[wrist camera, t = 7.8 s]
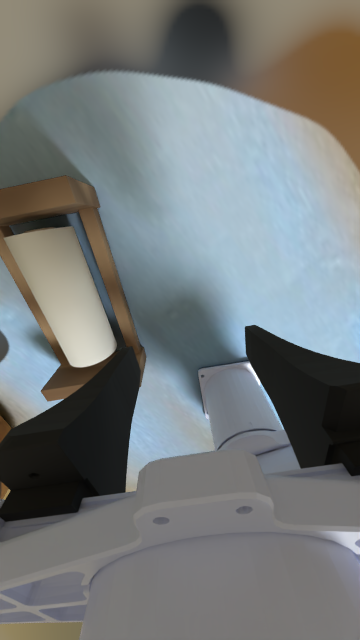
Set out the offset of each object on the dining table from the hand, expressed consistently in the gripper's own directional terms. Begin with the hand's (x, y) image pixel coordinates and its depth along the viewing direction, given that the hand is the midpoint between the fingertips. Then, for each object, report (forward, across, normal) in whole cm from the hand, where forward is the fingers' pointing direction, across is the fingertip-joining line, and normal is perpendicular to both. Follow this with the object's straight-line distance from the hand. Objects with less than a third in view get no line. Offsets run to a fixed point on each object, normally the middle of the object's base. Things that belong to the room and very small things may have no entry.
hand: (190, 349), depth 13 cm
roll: (+8, +10, -2) cm, 13 cm away
